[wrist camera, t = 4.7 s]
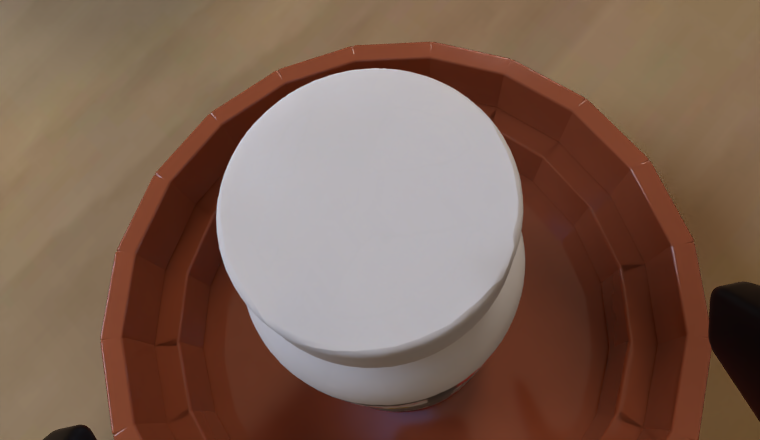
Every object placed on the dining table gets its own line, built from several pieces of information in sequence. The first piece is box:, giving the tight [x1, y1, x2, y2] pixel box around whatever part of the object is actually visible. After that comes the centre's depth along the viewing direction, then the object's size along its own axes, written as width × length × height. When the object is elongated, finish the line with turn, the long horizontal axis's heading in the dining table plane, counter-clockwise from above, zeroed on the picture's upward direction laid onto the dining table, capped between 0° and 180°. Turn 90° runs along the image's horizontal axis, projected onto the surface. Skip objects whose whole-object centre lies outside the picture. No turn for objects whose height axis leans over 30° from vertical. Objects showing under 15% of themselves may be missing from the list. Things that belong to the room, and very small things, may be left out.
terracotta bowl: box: [100, 42, 712, 440], centre depth 16 cm, size 15×15×4 cm
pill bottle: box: [216, 68, 525, 412], centre depth 13 cm, size 6×6×10 cm
